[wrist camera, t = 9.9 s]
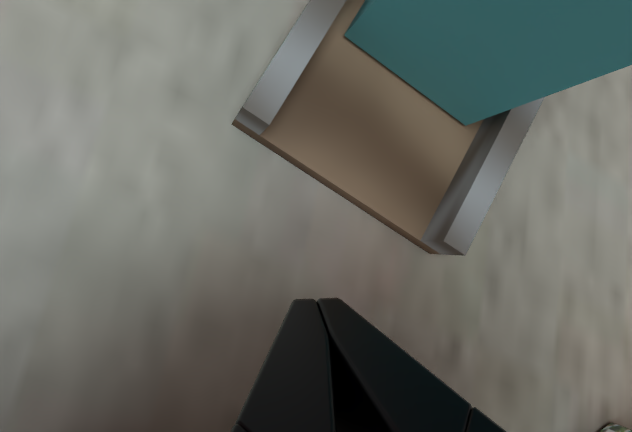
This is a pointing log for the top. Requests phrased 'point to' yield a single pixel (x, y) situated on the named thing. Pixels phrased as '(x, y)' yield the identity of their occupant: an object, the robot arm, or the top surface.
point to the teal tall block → (494, 47)
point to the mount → (379, 134)
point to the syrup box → (615, 428)
